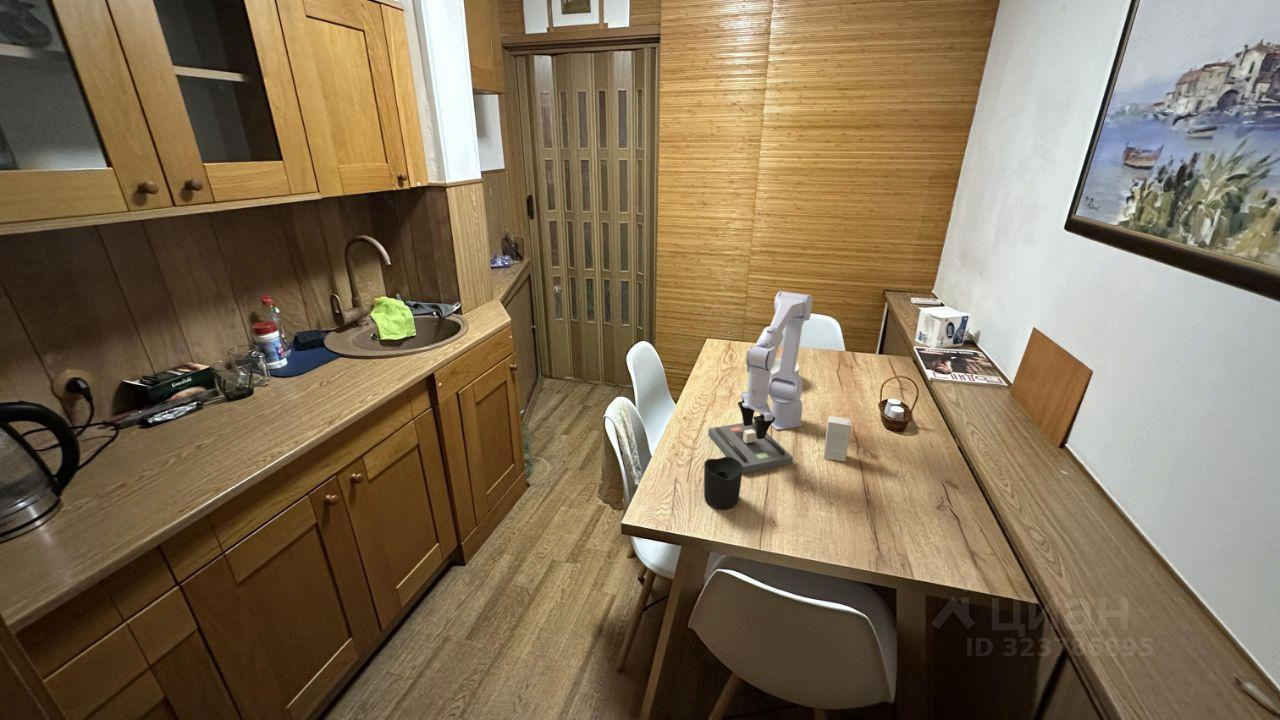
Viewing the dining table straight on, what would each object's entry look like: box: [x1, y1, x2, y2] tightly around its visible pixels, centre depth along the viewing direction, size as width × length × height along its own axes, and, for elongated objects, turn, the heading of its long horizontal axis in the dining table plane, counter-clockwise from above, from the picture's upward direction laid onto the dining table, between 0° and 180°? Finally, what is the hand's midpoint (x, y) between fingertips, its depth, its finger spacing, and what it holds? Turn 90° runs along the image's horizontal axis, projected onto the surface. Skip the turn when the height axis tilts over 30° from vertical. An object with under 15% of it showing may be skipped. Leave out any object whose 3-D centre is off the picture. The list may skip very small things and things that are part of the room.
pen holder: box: [703, 456, 743, 510], centre depth 124 cm, size 9×9×10 cm
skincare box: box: [823, 415, 852, 462], centre depth 141 cm, size 6×4×12 cm
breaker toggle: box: [743, 429, 756, 443], centre depth 146 cm, size 3×2×3 cm
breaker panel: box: [708, 420, 794, 475], centre depth 147 cm, size 16×22×4 cm
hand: (753, 431), depth 140 cm, fingers open, 7 cm apart
